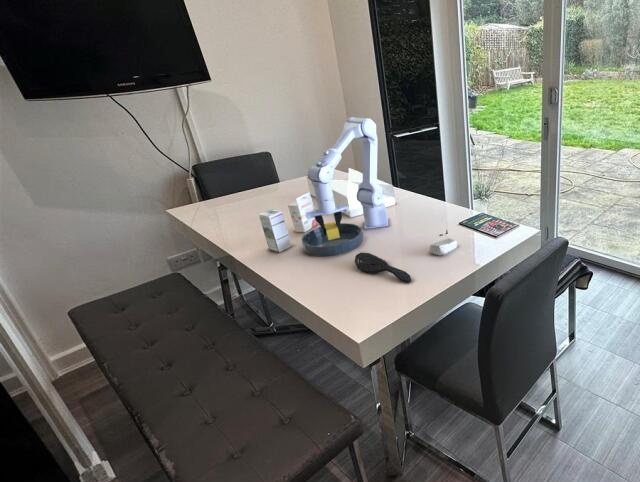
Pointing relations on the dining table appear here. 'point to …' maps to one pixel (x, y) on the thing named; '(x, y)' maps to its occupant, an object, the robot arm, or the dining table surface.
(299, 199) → the ink cartridge box
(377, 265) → the hairbrush
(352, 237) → the bowl
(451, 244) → the soap bar
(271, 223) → the syrup box
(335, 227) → the sponge
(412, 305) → the dining table surface
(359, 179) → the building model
